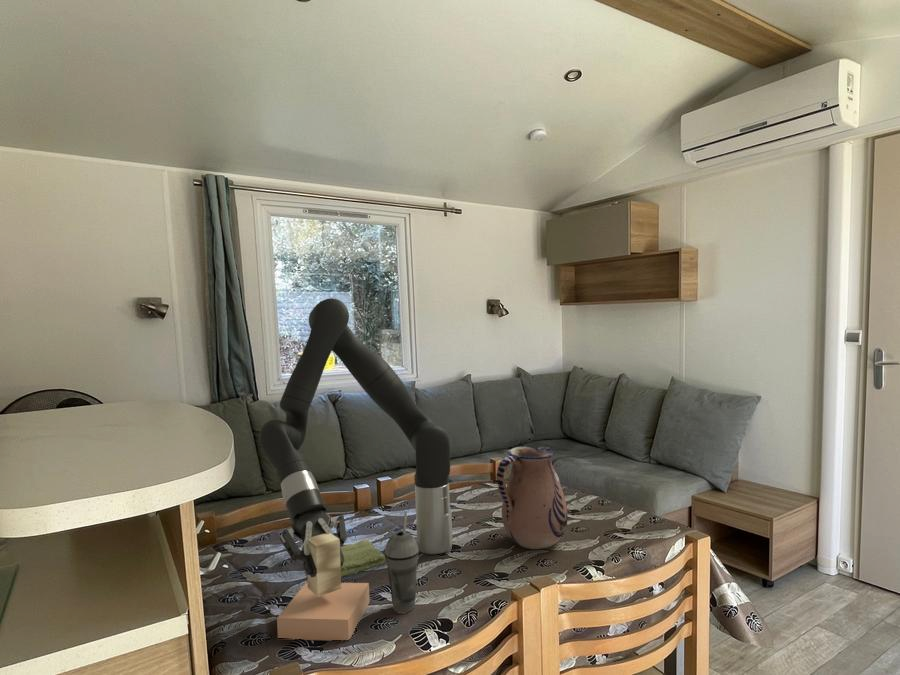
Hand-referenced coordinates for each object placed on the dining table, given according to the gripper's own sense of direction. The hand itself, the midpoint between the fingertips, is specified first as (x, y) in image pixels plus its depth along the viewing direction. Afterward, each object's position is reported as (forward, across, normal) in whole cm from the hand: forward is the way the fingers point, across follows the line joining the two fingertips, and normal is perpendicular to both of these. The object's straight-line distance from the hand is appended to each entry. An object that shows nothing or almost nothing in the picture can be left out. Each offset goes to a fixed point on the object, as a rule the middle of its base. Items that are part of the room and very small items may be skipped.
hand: (327, 570), depth 100 cm
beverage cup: (+11, +14, +4) cm, 19 cm away
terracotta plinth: (+6, 0, +9) cm, 11 cm away
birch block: (+2, 0, +4) cm, 5 cm away
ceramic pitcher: (+9, +57, +6) cm, 58 cm away
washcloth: (-8, +15, +24) cm, 29 cm away
